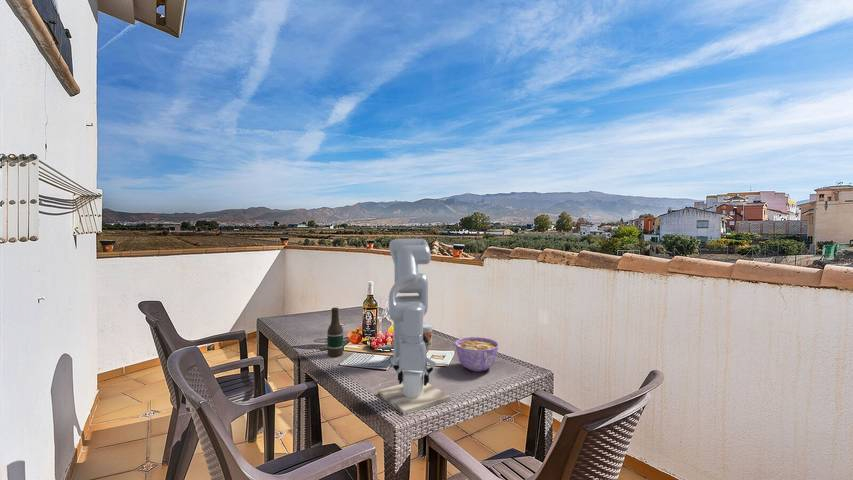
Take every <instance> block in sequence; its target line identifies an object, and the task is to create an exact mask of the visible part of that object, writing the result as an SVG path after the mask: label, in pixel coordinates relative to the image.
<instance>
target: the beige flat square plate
mask: <svg viewBox="0 0 853 480" xmlns="http://www.w3.org/2000/svg"><path fill="white" fill-rule="evenodd" d="M378 394H379V395H380V396H379V395H378ZM377 395H378V396H379V397H381V398H382V397H383V398H384V399H383V398H382V399H383V400H385V401H386V400H387V401H388V402H389V403H388V402H387V401H386V402H387V403H388V404H390V403H391V404H392V405H393V406H395V407H396V408H397V409H399V410H400V411H401V412H403V413H408V412H411V411H415V412H417V411H416V410H418V411H421V410H420V409H422V410H424V409H423V408H425V409H427V408H426V407H428V408H430V407H429V406H431V407H433V406H432V405H434V406H436V405H435V404H437V405H439V404H438V403H440V404H442V402H443V403H446V402H450V401H451V395H449V394H447V393H446V392H444V391H442V390H440V389H439V388H437V387H435V386H434V385H432V384H431V383H429V382H428V383H427V385H426V386H424V379H423V394H422V395H421V396H419V397H414V398H413V397H407V396H404V394H403V383H401V384H396V385H392V386H389V387H385V388H382V389H381V388H380V389H378V390H377ZM391 404H390V405H391ZM392 405H391V406H392ZM393 406H392V407H393ZM395 407H394V408H395ZM396 408H395V409H396ZM397 409H396V410H397ZM400 411H399V412H400ZM401 412H400V413H401Z"/></svg>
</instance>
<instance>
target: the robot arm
mask: <svg viewBox="0 0 853 480" xmlns="http://www.w3.org/2000/svg"><path fill="white" fill-rule="evenodd" d="M388 246H389V247H388V249H389V253H390V256H391V258H392V261H393V264H394V284H393V285H392V286H391V288H390V291H389V295H388V313H389V318H390V320H391V321H393V339H394V350H392V351H391V352H392V353H393V356H392V357H390V360H389V361H390V363H391V366H392V368H393V370H395V371H396V373H397V381H398V385H400V384H403V372H404V371H405V370H413V371H423V380H424V386H426V385H427V383H429V382H430V381H429V379H430V374H431V373H432V372H433V371H434V368H435V367H436V366H437V362H436V361H434V360H432V359H431V358H429V357H427V350H426V346H425V342H424V341H423V323H424V317H425V315H426V314H427V313H428V308H429V282H428V277H427V275H426V274H424V273H421V272H419V266H418V265H428V264H430V262H431V259H432V256H431V255H432V253H431V248H430V246H429V244H428V242H427V240H426V239H425V238H395V239H392V240H390V242H389V245H388ZM398 293H399V294H417V295H398V296H397V294H398ZM428 364H429V365H430V367H429V368H428V367H427V366H428Z"/></svg>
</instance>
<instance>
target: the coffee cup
mask: <svg viewBox="0 0 853 480" xmlns="http://www.w3.org/2000/svg"><path fill="white" fill-rule="evenodd" d="M433 328H434V326H433V325H432V323H424V322H423V341H424V342H425V346H426V351H427V350H430V349H431V348H432V342H433Z"/></svg>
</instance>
